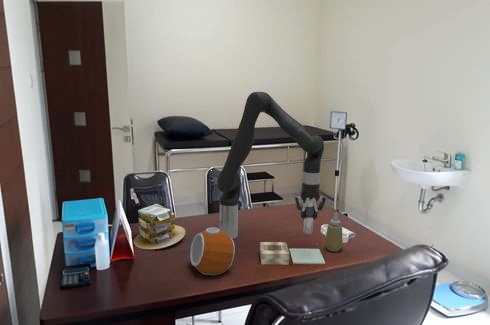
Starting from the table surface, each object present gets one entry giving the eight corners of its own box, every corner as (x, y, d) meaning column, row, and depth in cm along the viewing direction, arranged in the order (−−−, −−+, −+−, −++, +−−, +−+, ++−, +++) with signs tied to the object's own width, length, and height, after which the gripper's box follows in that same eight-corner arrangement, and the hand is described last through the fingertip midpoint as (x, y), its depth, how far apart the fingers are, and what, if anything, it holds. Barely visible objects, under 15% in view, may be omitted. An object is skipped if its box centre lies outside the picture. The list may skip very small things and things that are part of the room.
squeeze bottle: (332, 254, 182) (334, 217, 178) (321, 247, 189) (323, 211, 185) (345, 251, 185) (348, 215, 181) (334, 244, 192) (337, 209, 188)
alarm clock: (185, 261, 172) (185, 224, 168) (223, 255, 178) (224, 219, 175) (198, 282, 155) (198, 241, 151) (239, 274, 161) (240, 235, 158)
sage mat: (293, 263, 172) (293, 262, 172) (289, 249, 186) (289, 248, 186) (325, 264, 172) (325, 262, 172) (318, 250, 186) (319, 248, 186)
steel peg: (303, 233, 174) (305, 199, 171) (302, 230, 178) (304, 196, 175) (313, 234, 174) (316, 199, 171) (312, 230, 179) (314, 196, 175)
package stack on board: (138, 254, 177) (137, 219, 174) (129, 234, 199) (128, 202, 196) (191, 245, 188) (191, 212, 184) (177, 227, 210) (177, 197, 206)
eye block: (261, 264, 171) (261, 253, 170) (259, 252, 182) (260, 241, 181) (288, 264, 171) (289, 253, 170) (285, 252, 183) (286, 242, 182)
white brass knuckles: (359, 240, 199) (337, 245, 193) (335, 227, 215) (314, 232, 208) (360, 233, 199) (337, 238, 192) (336, 222, 214) (314, 226, 207)
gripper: (295, 183, 168) (293, 221, 171) (329, 184, 168) (326, 222, 172) (293, 179, 175) (291, 215, 179) (325, 179, 175) (323, 216, 179)
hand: (308, 218), depth 175 cm, fingers closed on steel peg, 4 cm apart
